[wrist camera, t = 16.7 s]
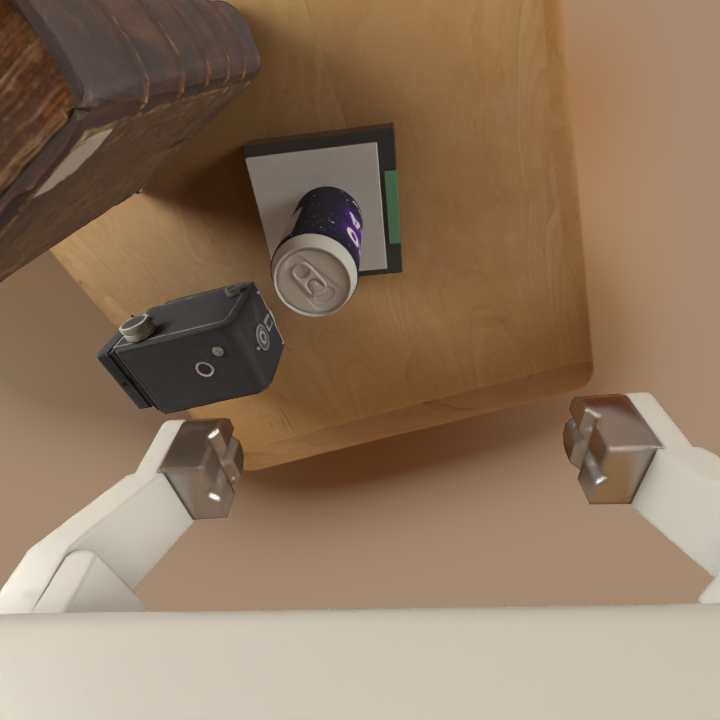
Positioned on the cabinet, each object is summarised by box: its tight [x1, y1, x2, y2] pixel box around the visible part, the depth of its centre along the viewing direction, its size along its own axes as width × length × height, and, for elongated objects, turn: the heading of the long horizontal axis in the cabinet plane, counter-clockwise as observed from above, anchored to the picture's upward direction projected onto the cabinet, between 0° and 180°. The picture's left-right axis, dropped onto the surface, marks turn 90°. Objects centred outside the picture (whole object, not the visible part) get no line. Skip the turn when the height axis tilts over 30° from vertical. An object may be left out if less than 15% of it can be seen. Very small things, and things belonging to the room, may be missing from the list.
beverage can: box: [271, 186, 363, 317], centre depth 30 cm, size 6×6×12 cm
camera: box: [97, 282, 285, 414], centre depth 41 cm, size 11×11×15 cm
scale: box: [242, 123, 402, 276], centre depth 36 cm, size 12×12×3 cm
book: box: [0, 0, 261, 282], centre depth 23 cm, size 17×7×25 cm, turn 118°
